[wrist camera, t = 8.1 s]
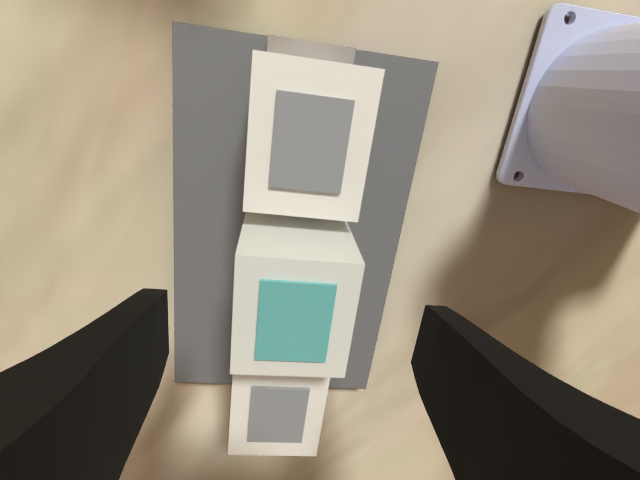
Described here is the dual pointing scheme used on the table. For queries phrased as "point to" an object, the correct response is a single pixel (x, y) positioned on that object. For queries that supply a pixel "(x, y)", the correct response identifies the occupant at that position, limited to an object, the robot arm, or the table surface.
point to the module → (294, 296)
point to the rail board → (224, 192)
